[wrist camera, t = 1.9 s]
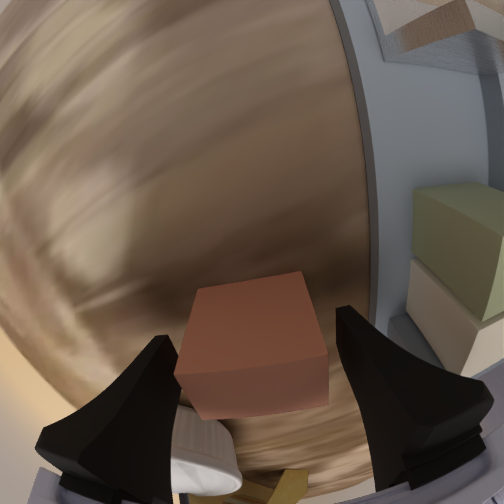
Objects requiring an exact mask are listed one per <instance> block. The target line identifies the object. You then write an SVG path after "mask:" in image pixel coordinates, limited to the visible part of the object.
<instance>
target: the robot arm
mask: <svg viewBox="0 0 504 504" xmlns="http://www.w3.org/2000/svg"><path fill="white" fill-rule="evenodd" d="M336 344H337V348H338V352H339V355H340V359H341V363H342V365H343V368H344V370H345V373H346V375H347V378H348V380H349V383H350V385H351V388H352V390H353V393H354V395H355V398H356V400H357V403H358V405H359V408H360V411H361V415H362V419H363V423H364V427H365V431H366V436H367V440H368V445H369V450H370V455H371V461H372V467H373V474H374V480H375V489H376V493H373V494H370V495H366V496H363V497H359V498H356V499H352V500H348V501H344V502H340V503H335V504H504V362H503V363H502V364H500V365H499V366H497V367H495V368H494V369H492V370H491V371H489V372H487V373H485V374H484V375H482V376H480V377H478V378H477V379H473V378H469V377H465V376H461V375H458V374H455V373H452V372H449V371H446V370H444V369H441V368H439V367H437V366H435V365H432V364H430V363H428V362H426V361H424V360H422V359H420V358H418V357H416V356H415V355H413V354H411V353H410V352H408V351H406V350H405V349H403V348H402V347H400V346H399V345H397V344H396V343H394V342H393V341H392V340H390V339H389V338H388V337H386V336H385V335H384V334H382V333H381V332H380V331H379V330H378V329H376V328H375V327H374V326H373V325H372V324H370V323H369V322H368V321H367V320H366V319H365V318H364V317H362V316H361V315H360V314H359V313H358V312H357V311H356V310H355V309H354V308H353V307H352V306H350V305H348V306H343V307H339V308H336ZM177 360H178V354H177V352H176V350H175V348H174V346H173V344H172V342H171V340H170V338H169V336H168V335H158V336H155V337H154V338H153V339H152V340H151V341H150V342H149V343H148V345H147V346H146V347H145V348H144V349H143V350H142V351H141V353H140V354H139V355H138V356H137V357H136V358H135V359H134V361H133V362H132V363H131V364H130V365H129V366H128V367H127V368H126V369H125V370H124V371H123V372H122V374H121V375H120V376H119V377H118V378H117V379H116V380H115V381H114V382H113V383H112V384H111V385H110V386H109V387H107V388H106V389H105V390H104V391H103V392H102V393H101V394H99V395H98V396H97V397H96V398H94V399H93V400H92V401H90V402H89V403H87V404H86V405H85V406H83V407H82V408H80V409H79V410H77V411H76V412H74V413H72V414H71V415H69V416H67V417H65V418H63V419H61V420H59V421H57V422H55V423H53V424H51V425H48V426H46V427H44V428H43V429H42V432H41V434H40V436H39V439H38V441H37V443H36V446H35V450H36V451H37V453H38V454H39V455H41V456H42V457H43V458H44V459H45V460H47V461H48V462H49V463H51V464H52V465H53V466H55V467H56V468H58V469H59V470H61V471H62V472H63V473H62V476H59V475H58V474H56V473H54V472H51V471H49V470H47V469H45V468H43V467H40V468H39V471H38V473H37V476H36V479H35V482H34V485H33V488H32V491H31V494H30V497H29V500H28V503H27V504H173V497H172V486H171V446H172V433H173V426H174V421H175V417H176V412H177V407H178V403H179V398H180V394H181V389H182V388H181V386H180V384H179V383H178V381H177V379H176V378H175V376H174V371H175V368H176V364H177Z"/></svg>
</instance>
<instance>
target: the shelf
mask: <svg viewBox="0 0 504 504" xmlns="http://www.w3.org/2000/svg"><path fill="white" fill-rule="evenodd" d="M330 3H331V6H332V9H333V12H334V15H335V18H336V21H337V24H338V28H339V31H340V34H341V38H342V41H343V45H344V49H345V53H346V56H347V60H348V65H349V69H350V73H351V78H352V82H353V87H354V92H355V97H356V102H357V108H358V113H359V119H360V126H361V132H362V139H363V147H364V155H365V164H366V173H367V184H368V197H369V214H370V243H371V276H370V305H369V321H368V322H369V323H370V324H372V325H373V326H374V327H375V328H376V329H378V330H379V331H380V332H381V333H382V334H384V335H385V336H386V337H388V338H389V339H390V340H392V341H393V342H394V343H396V344H397V345H399V346H400V347H402V348H403V349H405V350H406V351H408V352H410V353H411V354H413V355H415V356H416V357H418V358H420V359H422V360H424V361H426V362H428V363H430V364H432V365H435V366H437V367H439V368H441V369H444V370H446V369H445V367H444V366H443V364H442V363H441V361H440V359H439V358H438V356H437V355H436V353H435V352H434V350H433V349H432V347H431V346H430V344H429V343H428V341H427V340H426V338H425V337H424V335H423V334H422V332H421V331H420V329H419V328H418V327H417V325H416V324H415V322H414V321H413V319H412V318H411V317H410V315H409V314H408V312H407V311H406V303H407V295H408V287H409V278H410V267H411V260H412V259H416V258H418V257H417V256H415V255H414V254H413V253H412V233H413V189H417V188H425V187H434V186H443V185H452V184H461V183H472V182H479V183H482V184H484V185H487V186H489V187H492V188H494V189H497V190H499V191H502V192H504V73H501V74H484V75H472V74H468V73H464V72H459V71H454V70H449V69H444V68H438V67H432V66H425V65H418V64H409V63H399V62H386V61H384V57H383V53H382V49H381V45H380V42H379V38H378V35H377V32H376V28H375V25H374V22H373V19H372V16H371V13H370V10H369V7H368V5H367V2H366V0H330ZM503 362H504V358H503V359H501V360H499V361H498V362H496V363H495V364H493V365H491V366H489V367H488V368H486V369H484V370H483V371H481V372H479V373H477V374H475V375H473V376H472V377H470V378H473V379H477V378H478V377H480V376H482V375H484V374H485V373H487V372H489V371H491V370H492V369H494V368H495V367H497V366H499V365H500V364H502V363H503Z"/></svg>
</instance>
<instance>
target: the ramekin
mask: <svg viewBox="0 0 504 504" xmlns="http://www.w3.org/2000/svg"><path fill="white" fill-rule="evenodd" d="M171 486H172V493H174V494H179V493H190V494H192V495H195V496H217V495H224V494H229V493H232V492H234V491H236V490H238V489H239V488H240V487H241V486H242V474H241V472H240V471H239V470H238V465H237V460H236V454H235V449H234V445H233V440H232V436H231V434H230V433H229V431H228V430H227V429H226V428H225V427H224V426H223V425H222V424H221V423H220V422H219V421H218V420H216V419H212V420H202V419H201V417H200V416H199V414H198V413H197V411H196V410H195V409H192V408H189V407H185V406H182V405H178V407H177V412H176V417H175V421H174V426H173V433H172V446H171Z"/></svg>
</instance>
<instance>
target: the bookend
mask: <svg viewBox="0 0 504 504" xmlns="http://www.w3.org/2000/svg"><path fill="white" fill-rule="evenodd" d="M366 2H367V5H368V7H369V10H370V13H371V16H372V19H373V22H374V25H375V28H376V32H377V35H378V38H379V42H380V45H381V49H382V53H383V57H384V61H386V62H399V63H409V64H418V65H425V66H432V67H438V68H444V69H449V70H454V71H459V72H464V73H468V74H472V75H484V74H501V73H504V16H502V15H500V14H499V13H497V12H495V11H493V10H491V9H489V8H487V7H485V6H483V5H481V4H479V3H477V2H475V1H473V0H454V1H451V2H449V3H447V4H445V5H443V6H441V7H436V6H433V5H430V4H426V3H422V2H418V1H414V0H366Z"/></svg>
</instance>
